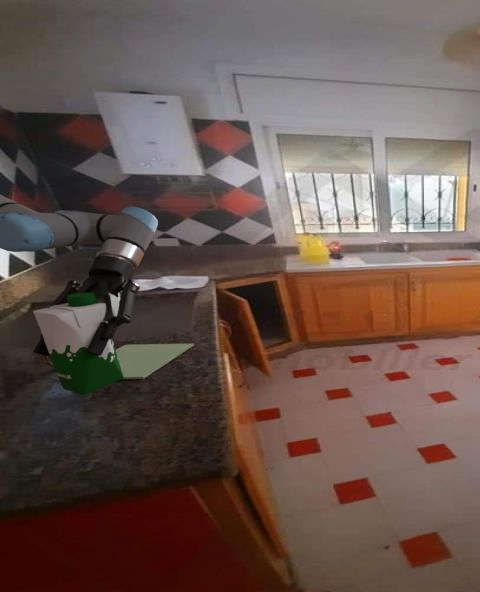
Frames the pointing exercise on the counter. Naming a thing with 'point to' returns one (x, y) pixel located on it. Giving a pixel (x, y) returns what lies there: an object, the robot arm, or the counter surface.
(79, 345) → the soya milk
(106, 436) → the counter surface
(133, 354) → the mat
